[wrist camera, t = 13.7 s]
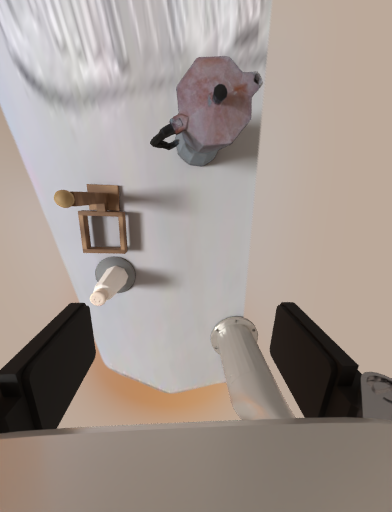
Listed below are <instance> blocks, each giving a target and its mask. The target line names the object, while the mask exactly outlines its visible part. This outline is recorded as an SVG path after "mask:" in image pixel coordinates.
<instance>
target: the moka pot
mask: <svg viewBox="0 0 392 512" xmlns="http://www.w3.org/2000/svg"><path fill="white" fill-rule="evenodd" d="M262 83H263V82H262V79H261V76H260V74H259V73H258V72H256V71H255V72H242V71H241V70H240V69H239V68H238V66H237V65H236V64H235V63H234V61H233V60H232V59H231V58H230V57H226V56H218V57H199V58H197V59H196V60H195V61H194V63H193V64H192V65H191V67H190V68H189V70H188V71H187V72H186V74H185V75H184V77H183V78H182V79H181V81H180V82H179V84H178V85H177V88H176V91H177V100H178V111H179V113H178V115H176V116H174V117H173V118H172V119H170V124H169V125H167V126H165V127H163V128H162V129H161V130H160V132H159V133H158V134H157V135H156V136H155V137H153V139H152V140H151V141H150V144H151V145H152V146H153V147H157V148H164V149H167V150H170V149H172V148H174V147H177V151H178V155H179V156H180V157H181V158H182V159H183V160H184V161H185V162H187V163H188V164H189V165H194V166H204V165H206V164H207V163H209V162H210V161H212V160H213V159H214V158H215V156H216V153H217V151H218V150H219V149H222V148H224V147H226V146H228V145H231V144H232V143H233V141H234V140H235V139H236V138H237V136H238V135H239V134H240V133H241V131H242V130H243V129H244V128H245V126H246V125H247V124H248V122H249V121H250V120H251V111H252V110H251V101H252V96H253V95H254V94H255V93H256V92H257V91H258V89H259V88H260V87H261V85H262ZM173 134H176V137H175V140H174V141H173V142H171V143H167V142H165V141H163V140H164V139H165V138H167V137H169V136H171V135H173Z"/></svg>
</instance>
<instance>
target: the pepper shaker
mask: <svg viewBox="0 0 392 512" xmlns="http://www.w3.org/2000/svg"><path fill="white" fill-rule="evenodd" d="M127 279H128V275H127V273H126V271H125V269H124V268H121V267H118V266H113V267H110V268H108V269H107V270H106V271H105V273H104V274H103V276H102V277H101V279H100V280H99V282H98V283H97V285H96V286H95V289H94V292H93V293H92V294H91V296H90V301H91V302H92V303H93V304H94V305H96V306H101V305H103V304H104V303H105V302H106V300H109V299H111V298H112V297H113V296H114V295H115V294H116V293H117V292H118V291H119V290H120V289H121V288H122V287H123V286H124V285H125V284H126V281H127Z"/></svg>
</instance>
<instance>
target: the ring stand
mask: <svg viewBox="0 0 392 512" xmlns="http://www.w3.org/2000/svg"><path fill="white" fill-rule="evenodd" d="M87 191H88V192H69V191H67V190H59V191H57V192H56V193H55V195H54V200H55V202H56V204H57V205H59V206H60V207H63V208H68V207H71V206H83V205H89V209H90V210H97V211H86V210H82V211H78V215H79V223H80V231H81V238H82V246H83V253H122V254H125V253H126V252H127V236H126V220H125V212H114V211H107V210H116V211H119V210H120V202H119V187H118V186H115V185H92V184H87ZM88 216H117V217H119V231H120V245H121V247H91V242H90V234H89V225H88Z"/></svg>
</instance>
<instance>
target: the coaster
mask: <svg viewBox="0 0 392 512" xmlns="http://www.w3.org/2000/svg"><path fill="white" fill-rule="evenodd" d="M113 266H118V267H121V268H124V269H125V271H126V273H127V275H128V279H127V281H126V284H125V285H124V286H123V287H122V288H121V289H120V290H119V291H118V292H117V293H122V292H125V291H127V290H128V289H129V288H130V287H131V286H132V285H133V283H134V281H135V271H134V268H133V267H132V265H131V264H130V263H129V262H128V261H126V260H125V259H123V258H120V257H108V258H106V259H104V260H102V261H101V262H100V263H99V264H98V266H97V268H96V271H95V276H96V280H97V282H99V280H100V279H101V277H102V276H103V274H104V273H105V271H106V270H107V269H108V268H110V267H113Z"/></svg>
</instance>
